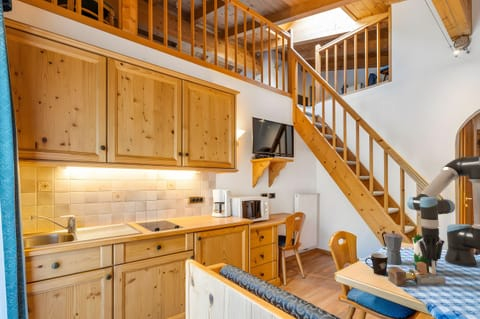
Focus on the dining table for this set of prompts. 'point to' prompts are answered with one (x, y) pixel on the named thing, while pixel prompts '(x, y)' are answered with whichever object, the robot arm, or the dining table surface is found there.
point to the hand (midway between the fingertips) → (432, 272)
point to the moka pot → (393, 247)
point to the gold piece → (420, 268)
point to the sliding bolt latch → (428, 279)
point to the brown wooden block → (397, 276)
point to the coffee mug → (378, 263)
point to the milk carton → (418, 252)
